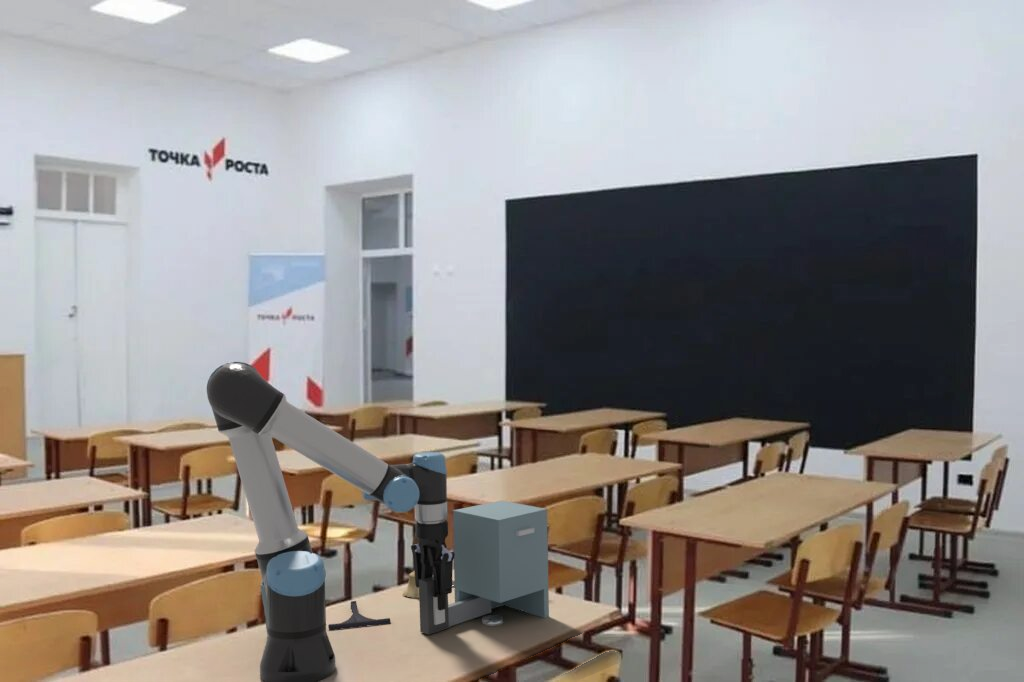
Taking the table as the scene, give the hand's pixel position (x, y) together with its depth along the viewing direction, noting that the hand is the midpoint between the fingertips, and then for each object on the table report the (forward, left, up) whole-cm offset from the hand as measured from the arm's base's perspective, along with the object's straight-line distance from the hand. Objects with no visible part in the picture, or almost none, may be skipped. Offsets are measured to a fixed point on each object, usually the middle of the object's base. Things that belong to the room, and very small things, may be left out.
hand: (434, 621), depth 208 cm
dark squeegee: (-7, +22, -3) cm, 23 cm away
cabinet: (+17, -4, -2) cm, 18 cm away
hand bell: (+15, +26, -3) cm, 30 cm away
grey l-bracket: (+7, 0, -2) cm, 7 cm away
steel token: (+13, -5, -3) cm, 15 cm away
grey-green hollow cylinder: (-25, +23, -2) cm, 34 cm away
